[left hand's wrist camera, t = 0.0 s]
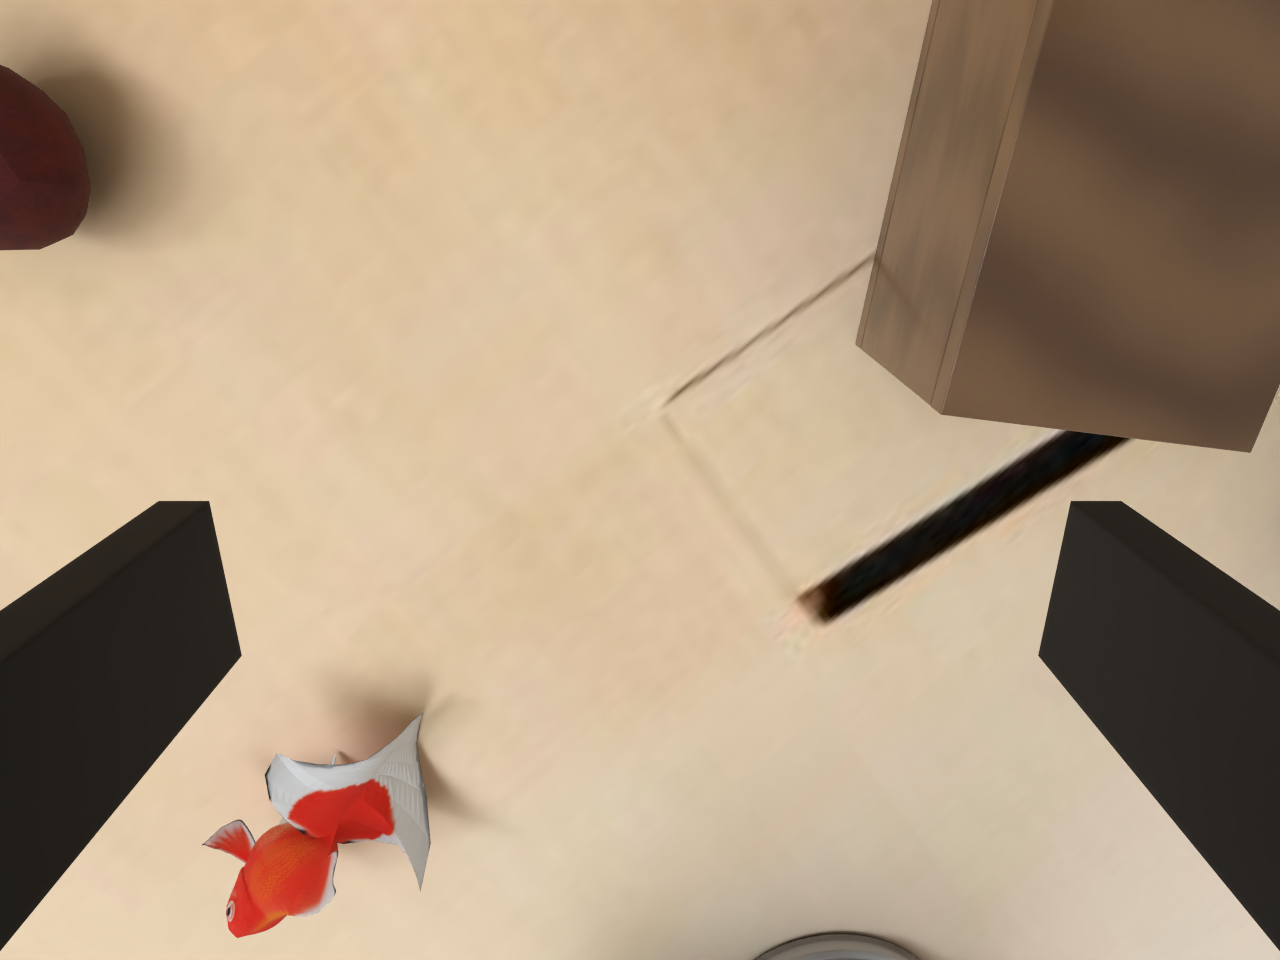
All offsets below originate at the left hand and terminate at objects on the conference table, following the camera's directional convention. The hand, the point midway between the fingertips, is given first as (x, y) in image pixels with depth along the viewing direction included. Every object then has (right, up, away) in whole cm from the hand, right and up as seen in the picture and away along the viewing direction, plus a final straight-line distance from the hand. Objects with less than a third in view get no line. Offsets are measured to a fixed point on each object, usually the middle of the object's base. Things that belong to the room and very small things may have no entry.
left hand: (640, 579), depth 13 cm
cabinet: (+17, +17, +24) cm, 34 cm away
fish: (-18, -16, +36) cm, 44 cm away
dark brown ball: (-27, +16, +24) cm, 39 cm away
